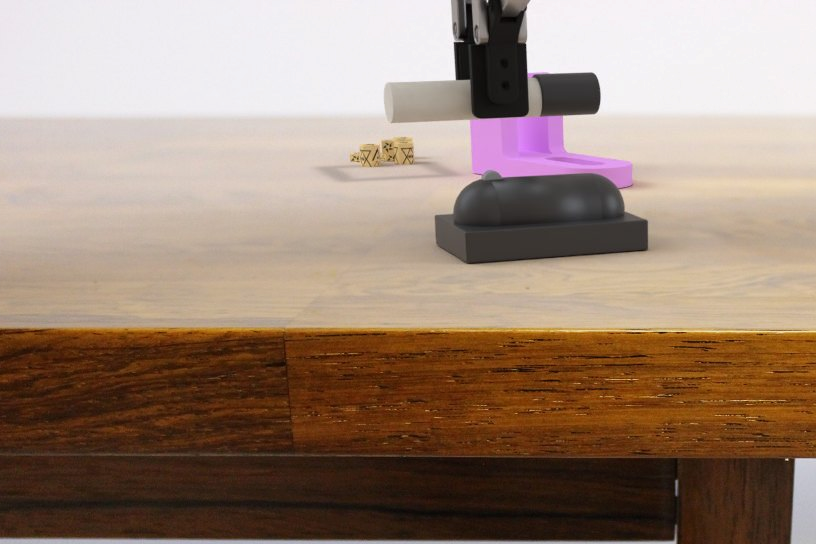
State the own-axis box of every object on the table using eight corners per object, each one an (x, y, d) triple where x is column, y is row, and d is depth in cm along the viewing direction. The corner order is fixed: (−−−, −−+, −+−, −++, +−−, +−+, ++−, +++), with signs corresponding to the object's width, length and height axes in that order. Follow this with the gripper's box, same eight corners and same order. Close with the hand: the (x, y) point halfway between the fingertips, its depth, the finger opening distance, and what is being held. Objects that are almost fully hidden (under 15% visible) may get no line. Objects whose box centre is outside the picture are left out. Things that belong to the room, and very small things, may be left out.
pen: (394, 126, 82) (392, 81, 81) (384, 119, 84) (381, 76, 83) (601, 117, 87) (601, 74, 86) (587, 111, 89) (586, 69, 88)
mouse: (466, 263, 75) (462, 180, 74) (435, 244, 80) (431, 165, 79) (648, 249, 79) (647, 170, 78) (608, 232, 84) (606, 157, 83)
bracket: (472, 172, 108) (467, 74, 106) (533, 166, 112) (529, 70, 110) (587, 191, 99) (584, 84, 97) (648, 184, 103) (648, 80, 101)
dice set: (411, 161, 118) (409, 136, 117) (427, 169, 113) (426, 143, 113) (347, 164, 116) (345, 139, 115) (361, 172, 111) (359, 146, 111)
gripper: (371, -226, 84) (394, 106, 91) (447, -262, 71) (468, 132, 77) (498, -220, 87) (512, 101, 94) (595, -253, 74) (604, 125, 80)
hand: (492, 112), depth 85 cm, fingers closed on pen, 2 cm apart
